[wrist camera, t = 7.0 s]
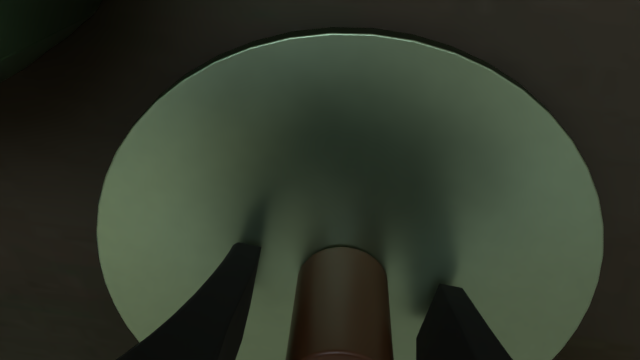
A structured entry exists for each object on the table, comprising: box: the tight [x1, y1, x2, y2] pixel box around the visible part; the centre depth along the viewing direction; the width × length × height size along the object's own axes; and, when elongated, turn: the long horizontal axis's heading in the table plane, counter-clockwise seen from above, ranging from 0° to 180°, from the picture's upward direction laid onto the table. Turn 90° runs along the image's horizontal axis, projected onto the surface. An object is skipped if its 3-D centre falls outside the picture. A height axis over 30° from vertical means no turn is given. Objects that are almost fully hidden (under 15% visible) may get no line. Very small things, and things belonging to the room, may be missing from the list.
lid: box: [96, 27, 604, 360], centre depth 13 cm, size 13×13×5 cm
